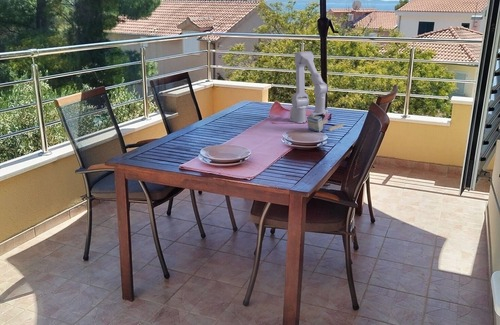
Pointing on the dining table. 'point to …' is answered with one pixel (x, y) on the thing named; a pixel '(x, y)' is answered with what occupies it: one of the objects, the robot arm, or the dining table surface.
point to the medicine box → (315, 123)
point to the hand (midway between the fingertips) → (318, 126)
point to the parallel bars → (333, 126)
